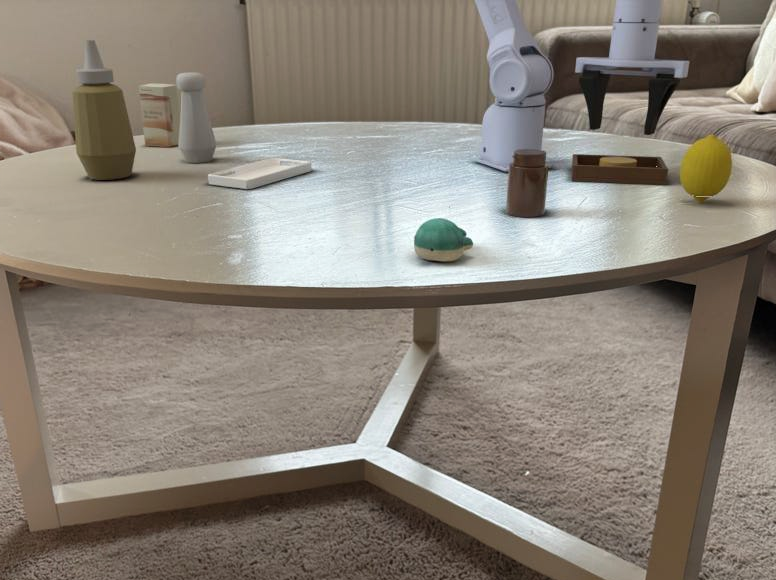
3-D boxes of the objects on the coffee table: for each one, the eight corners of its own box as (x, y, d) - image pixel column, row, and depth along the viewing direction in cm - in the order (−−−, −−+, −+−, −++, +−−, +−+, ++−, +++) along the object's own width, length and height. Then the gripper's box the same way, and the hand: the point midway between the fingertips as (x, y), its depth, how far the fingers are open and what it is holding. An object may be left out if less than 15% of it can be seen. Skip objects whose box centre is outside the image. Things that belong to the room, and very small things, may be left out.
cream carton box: (144, 146, 133) (136, 85, 128) (157, 142, 136) (150, 83, 132) (170, 147, 131) (163, 86, 127) (183, 143, 135) (176, 83, 131)
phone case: (249, 190, 100) (313, 170, 111) (248, 179, 99) (313, 161, 111) (206, 184, 103) (273, 166, 115) (205, 174, 103) (273, 157, 114)
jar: (497, 211, 88) (501, 151, 85) (523, 206, 91) (528, 147, 88) (526, 219, 85) (531, 156, 82) (552, 213, 87) (558, 152, 84)
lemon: (694, 209, 88) (707, 139, 85) (665, 199, 93) (676, 132, 90) (734, 206, 90) (748, 136, 86) (704, 196, 95) (716, 130, 91)
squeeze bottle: (122, 183, 104) (102, 41, 96) (69, 181, 105) (44, 41, 98) (149, 172, 111) (132, 39, 104) (99, 170, 113) (78, 39, 105)
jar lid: (609, 167, 109) (611, 155, 108) (641, 171, 106) (643, 159, 105) (591, 172, 106) (593, 159, 105) (624, 177, 103) (625, 164, 102)
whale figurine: (401, 261, 71) (401, 221, 70) (427, 241, 77) (428, 203, 76) (460, 268, 69) (462, 227, 67) (482, 247, 75) (485, 209, 74)
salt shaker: (221, 157, 122) (214, 71, 116) (211, 164, 117) (203, 74, 111) (186, 157, 123) (177, 71, 117) (174, 163, 117) (164, 74, 112)
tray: (571, 181, 104) (573, 165, 103) (571, 168, 112) (573, 154, 111) (665, 185, 101) (668, 169, 100) (658, 171, 109) (661, 156, 108)
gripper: (703, 22, 97) (685, 132, 102) (595, 21, 105) (583, 123, 111) (685, 23, 92) (667, 139, 97) (573, 22, 100) (562, 129, 106)
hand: (621, 131), depth 104 cm, fingers open, 7 cm apart
